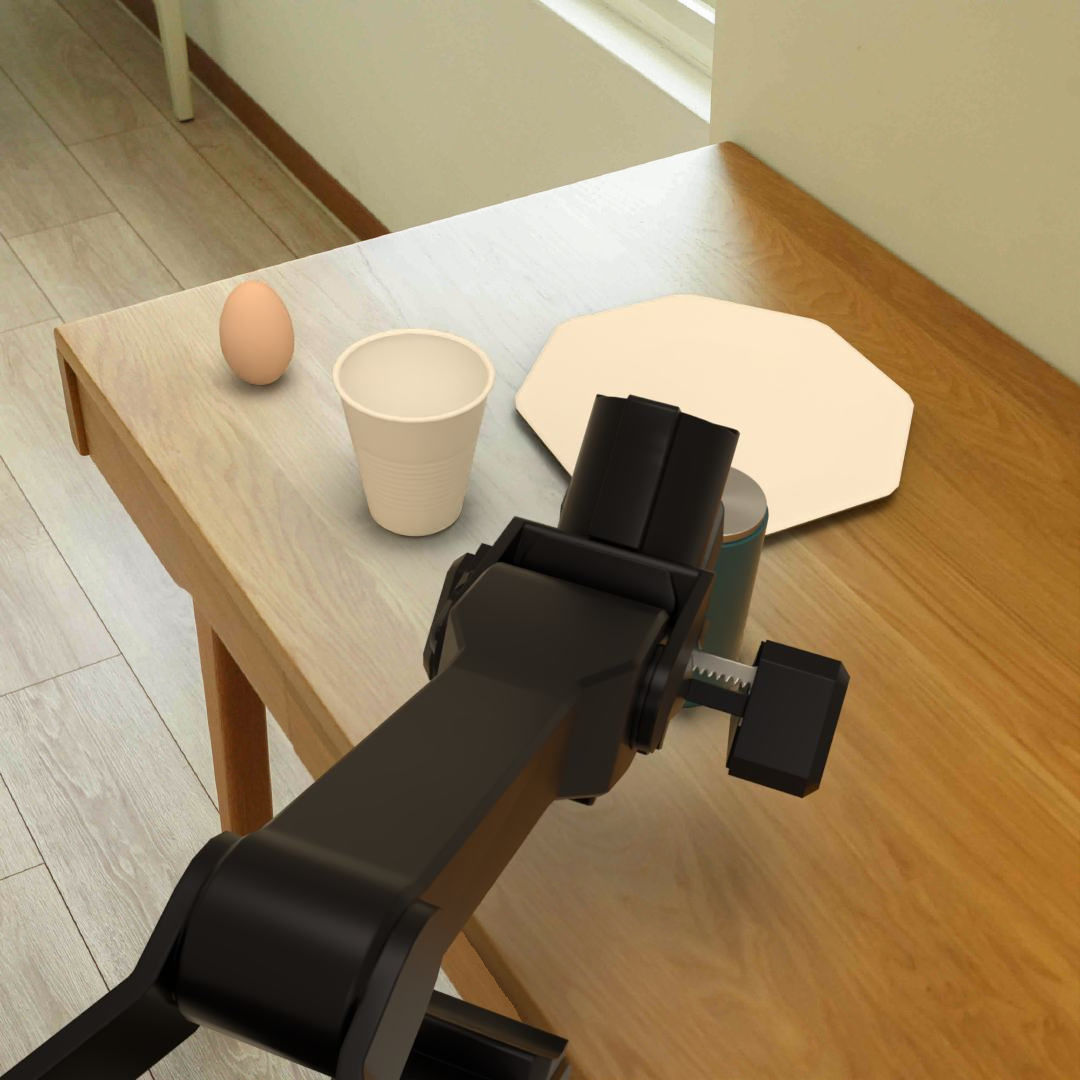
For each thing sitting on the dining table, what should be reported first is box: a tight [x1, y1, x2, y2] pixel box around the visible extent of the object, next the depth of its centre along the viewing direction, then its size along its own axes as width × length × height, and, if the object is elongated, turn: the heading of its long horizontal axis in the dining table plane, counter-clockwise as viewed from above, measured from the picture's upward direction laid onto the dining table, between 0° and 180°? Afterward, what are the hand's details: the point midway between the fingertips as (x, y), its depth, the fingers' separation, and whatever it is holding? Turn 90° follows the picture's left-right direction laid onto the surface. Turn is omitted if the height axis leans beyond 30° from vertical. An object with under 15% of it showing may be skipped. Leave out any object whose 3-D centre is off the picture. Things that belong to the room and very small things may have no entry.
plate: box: [514, 293, 915, 538], centre depth 98 cm, size 28×28×2 cm
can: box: [682, 467, 769, 708], centre depth 76 cm, size 7×7×13 cm
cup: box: [331, 328, 496, 537], centre depth 86 cm, size 10×10×11 cm
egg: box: [218, 279, 295, 386], centre depth 97 cm, size 5×5×8 cm
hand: (654, 671), depth 69 cm, fingers open, 9 cm apart
